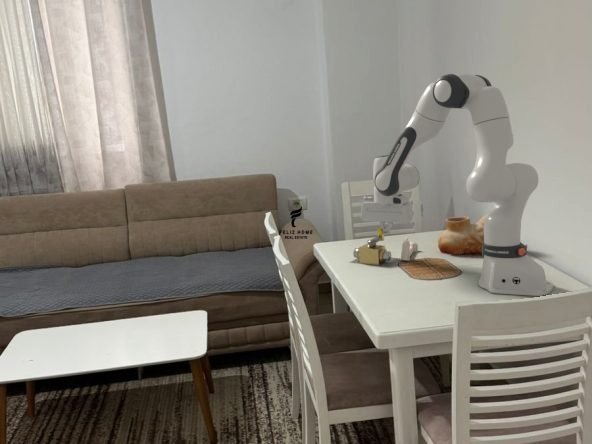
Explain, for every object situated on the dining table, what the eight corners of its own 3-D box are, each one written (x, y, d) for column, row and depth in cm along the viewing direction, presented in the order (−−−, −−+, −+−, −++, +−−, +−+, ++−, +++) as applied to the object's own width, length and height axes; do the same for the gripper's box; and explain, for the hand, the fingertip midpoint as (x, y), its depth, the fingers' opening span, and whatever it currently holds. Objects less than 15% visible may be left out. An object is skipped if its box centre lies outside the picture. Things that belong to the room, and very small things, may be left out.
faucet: (418, 263, 247) (419, 238, 248) (409, 260, 231) (410, 234, 232) (408, 262, 249) (409, 238, 250) (399, 259, 232) (400, 233, 233)
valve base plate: (401, 259, 236) (401, 258, 236) (388, 267, 226) (388, 266, 226) (363, 255, 245) (363, 254, 245) (349, 263, 235) (349, 262, 235)
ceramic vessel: (510, 255, 233) (511, 216, 230) (439, 257, 237) (439, 218, 234) (504, 246, 246) (504, 209, 243) (436, 247, 250) (436, 211, 247)
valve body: (392, 261, 232) (392, 246, 231) (386, 266, 227) (385, 250, 226) (359, 258, 240) (358, 243, 238) (352, 262, 235) (351, 247, 233)
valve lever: (373, 247, 230) (373, 233, 229) (366, 246, 232) (365, 232, 230) (386, 241, 239) (385, 227, 238) (378, 240, 240) (378, 226, 239)
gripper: (357, 197, 236) (358, 232, 239) (407, 200, 226) (408, 236, 229) (364, 195, 242) (365, 229, 244) (413, 197, 231) (414, 233, 234)
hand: (386, 233), depth 236 cm, fingers closed
